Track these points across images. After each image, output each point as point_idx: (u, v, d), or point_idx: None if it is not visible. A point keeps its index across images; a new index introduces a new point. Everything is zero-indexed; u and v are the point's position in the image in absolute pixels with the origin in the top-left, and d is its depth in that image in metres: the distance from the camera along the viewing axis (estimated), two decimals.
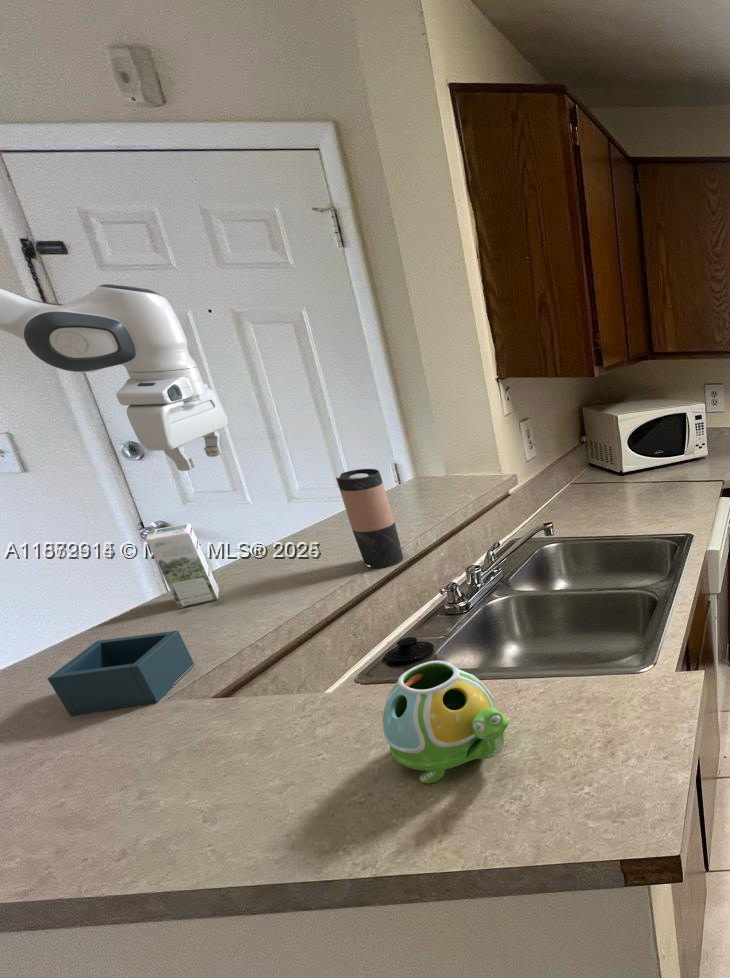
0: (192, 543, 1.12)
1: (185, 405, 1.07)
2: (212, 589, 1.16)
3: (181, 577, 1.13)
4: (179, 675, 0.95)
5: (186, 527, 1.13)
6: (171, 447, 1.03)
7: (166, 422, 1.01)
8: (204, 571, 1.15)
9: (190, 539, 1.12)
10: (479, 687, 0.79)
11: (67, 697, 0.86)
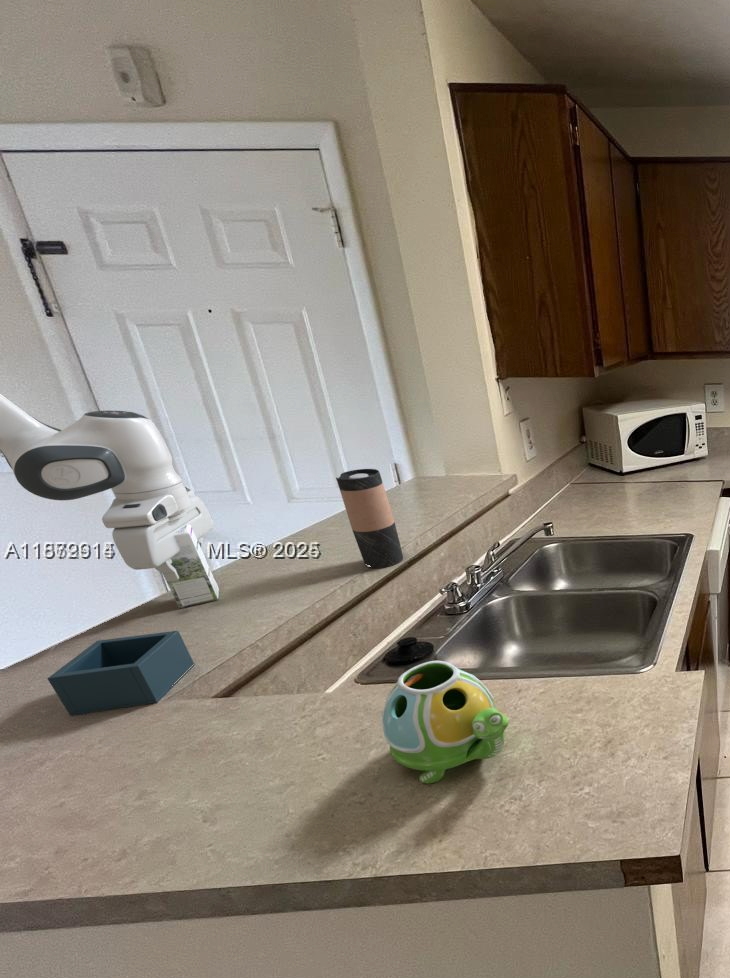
0: (192, 543, 1.12)
1: (170, 520, 1.09)
2: (212, 589, 1.16)
3: (181, 577, 1.13)
4: (179, 675, 0.95)
5: (186, 527, 1.13)
6: (157, 565, 1.05)
7: (151, 542, 1.04)
8: (204, 571, 1.15)
9: (190, 539, 1.12)
10: (479, 687, 0.79)
11: (67, 697, 0.86)
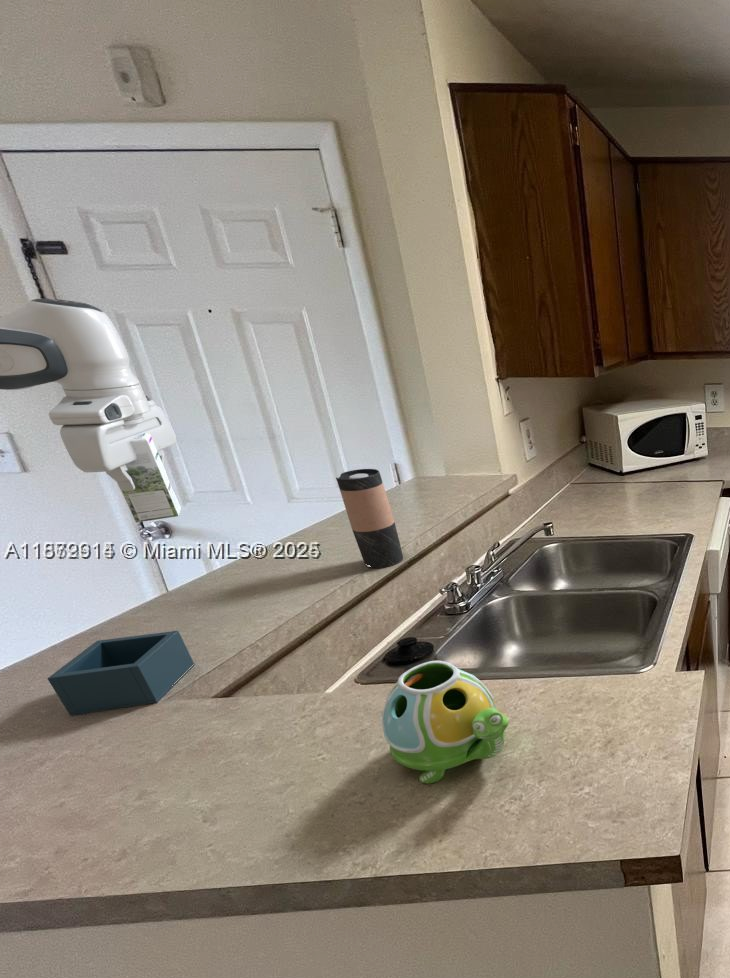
0: (150, 451, 1.05)
1: (126, 424, 1.02)
2: (172, 504, 1.09)
3: (138, 488, 1.05)
4: (179, 675, 0.95)
5: (145, 435, 1.06)
6: (109, 469, 0.98)
7: (103, 443, 0.97)
8: (164, 483, 1.07)
9: (148, 447, 1.05)
10: (479, 687, 0.79)
11: (67, 697, 0.86)
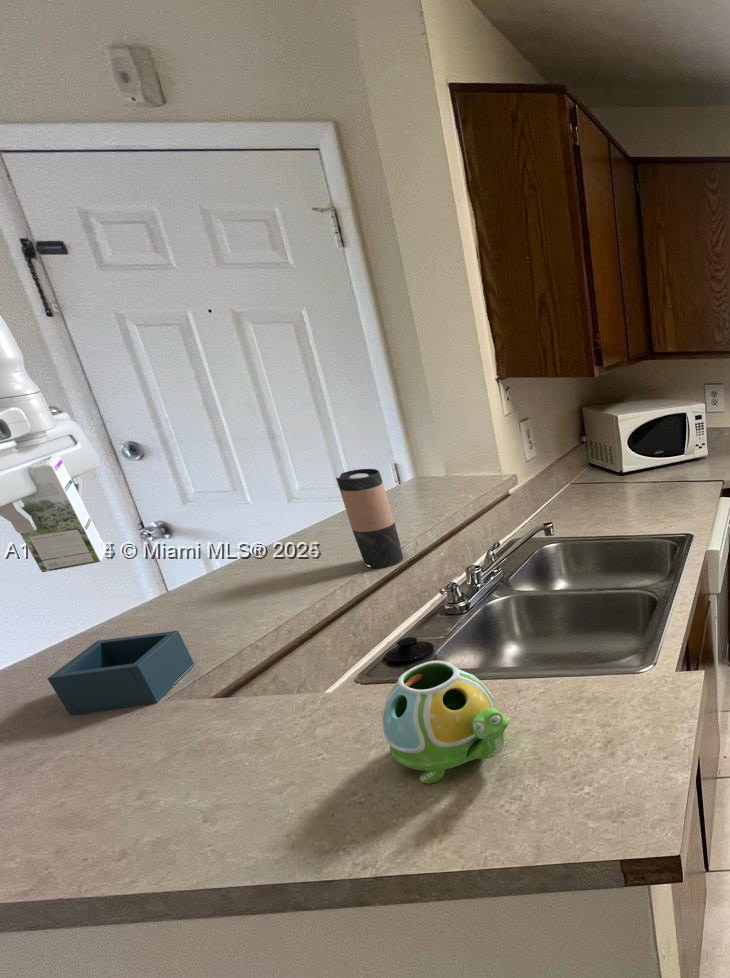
0: (57, 480, 0.80)
1: (20, 445, 0.77)
2: (91, 547, 0.84)
3: (42, 528, 0.81)
4: (179, 675, 0.95)
5: (50, 458, 0.81)
6: None
7: None
8: (78, 521, 0.83)
9: (54, 474, 0.80)
10: (479, 687, 0.79)
11: (67, 697, 0.86)
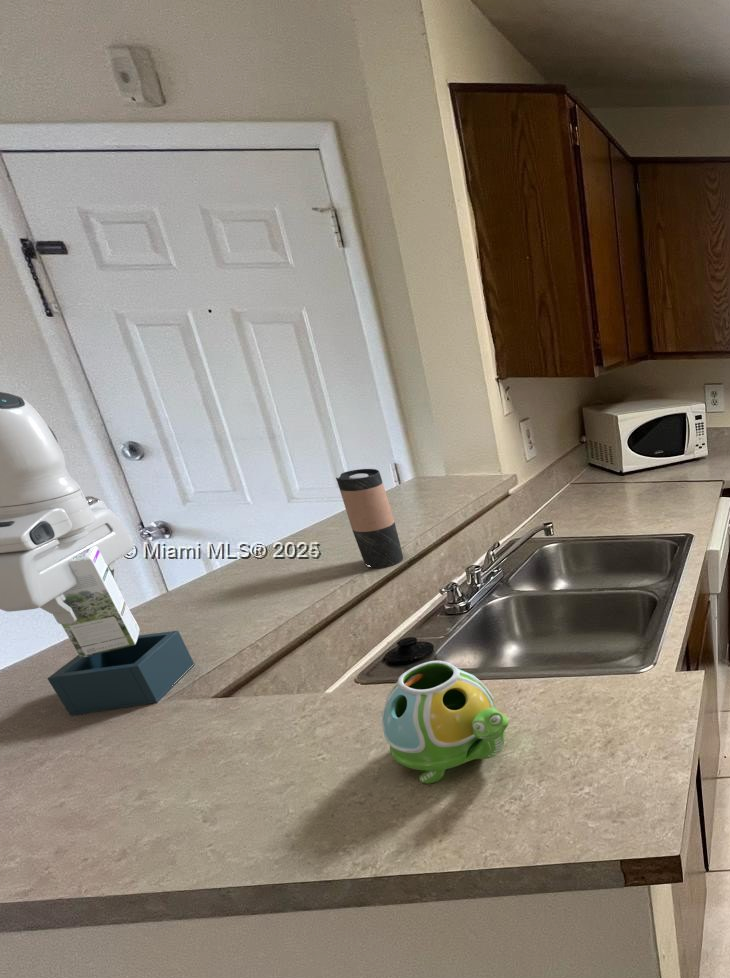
0: (96, 572, 0.84)
1: (62, 542, 0.81)
2: (127, 632, 0.88)
3: (82, 617, 0.84)
4: (179, 675, 0.95)
5: (89, 550, 0.84)
6: (38, 605, 0.77)
7: (28, 575, 0.76)
8: (115, 608, 0.86)
9: (93, 567, 0.83)
10: (479, 687, 0.79)
11: (67, 697, 0.86)
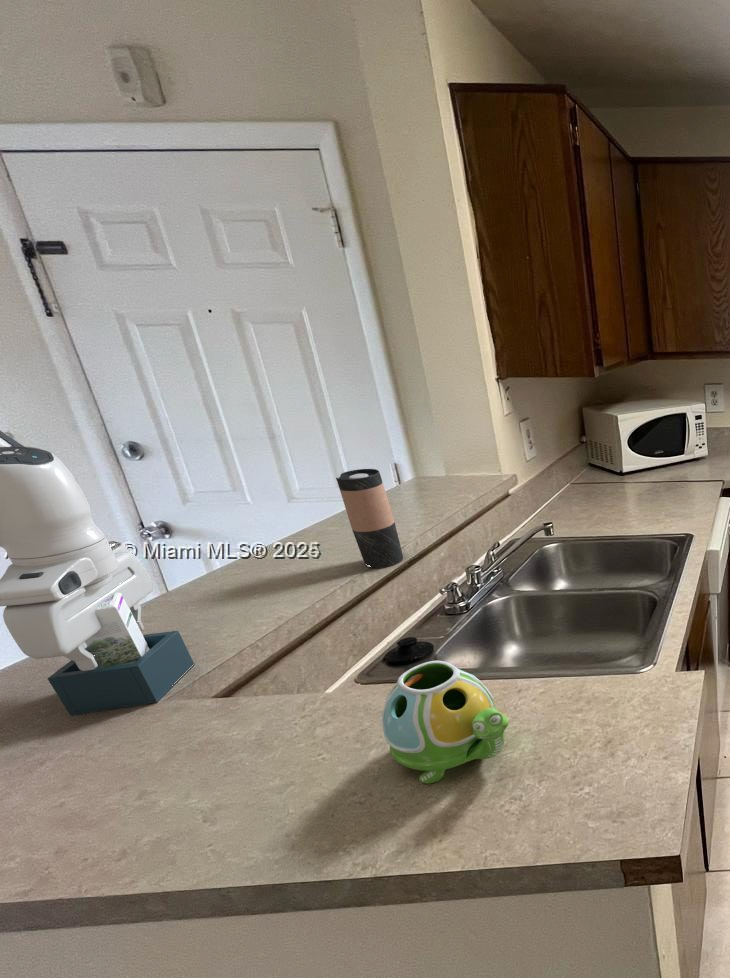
0: (120, 619, 0.87)
1: (88, 589, 0.84)
2: None
3: (106, 662, 0.87)
4: (179, 675, 0.95)
5: (113, 598, 0.87)
6: (66, 653, 0.80)
7: (57, 624, 0.79)
8: (138, 653, 0.89)
9: (117, 614, 0.87)
10: (479, 687, 0.79)
11: (67, 697, 0.86)
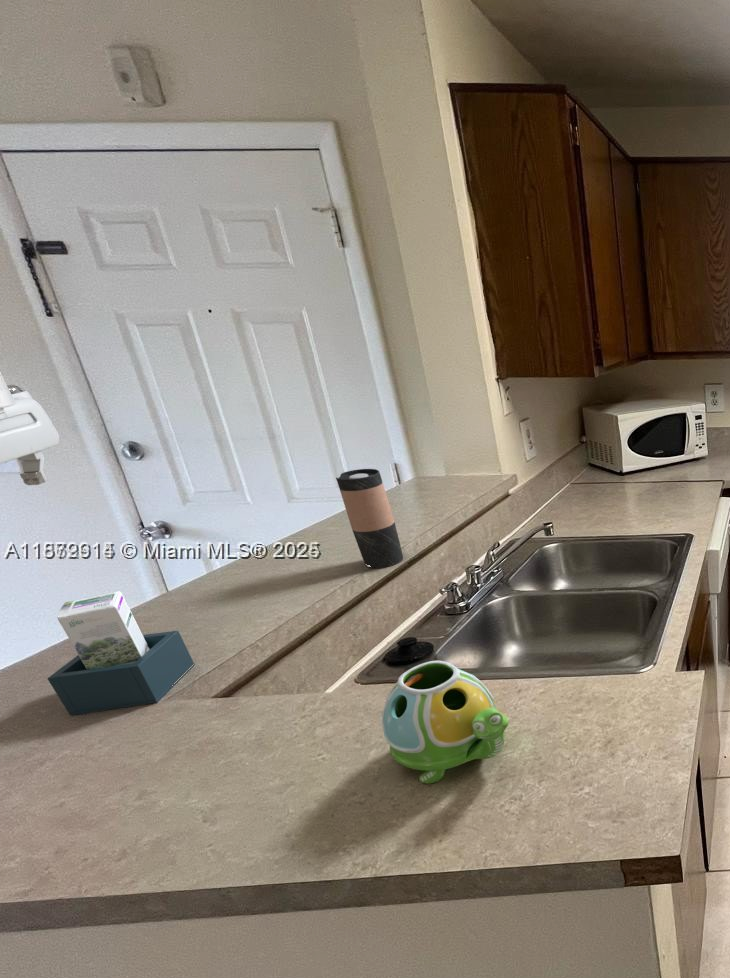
0: (120, 619, 0.87)
1: None
2: None
3: (106, 662, 0.87)
4: (179, 675, 0.95)
5: (113, 598, 0.87)
6: None
7: None
8: (138, 653, 0.89)
9: (117, 614, 0.86)
10: (479, 687, 0.79)
11: (67, 697, 0.86)
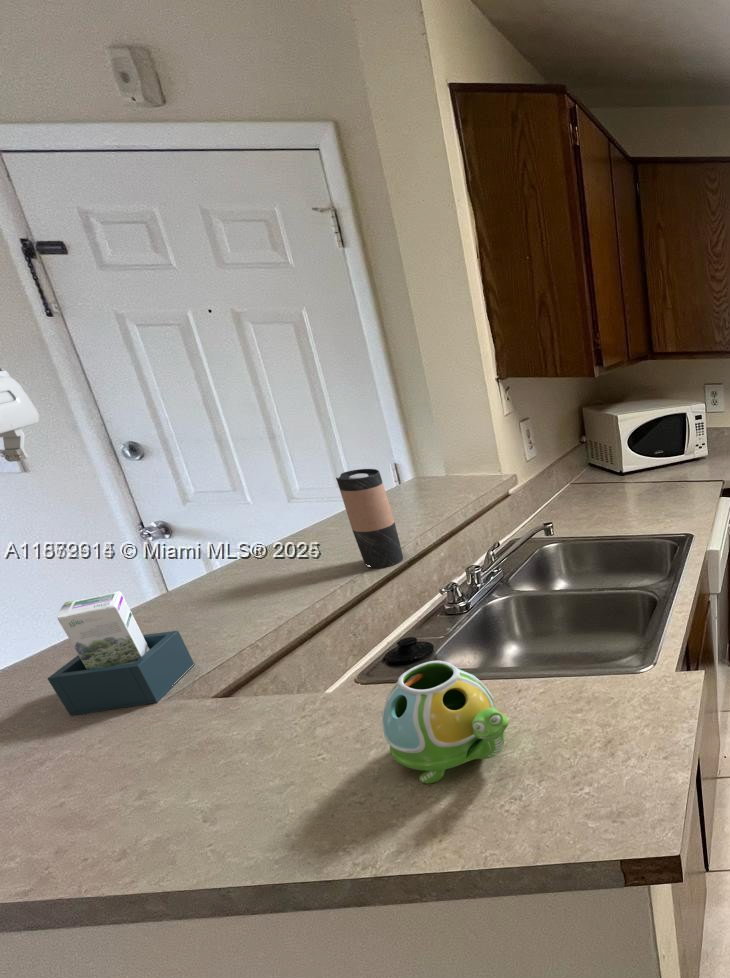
0: (120, 619, 0.87)
1: None
2: None
3: (106, 662, 0.87)
4: (179, 675, 0.95)
5: (113, 598, 0.87)
6: None
7: None
8: (138, 653, 0.89)
9: (117, 614, 0.86)
10: (479, 687, 0.79)
11: (67, 697, 0.86)
